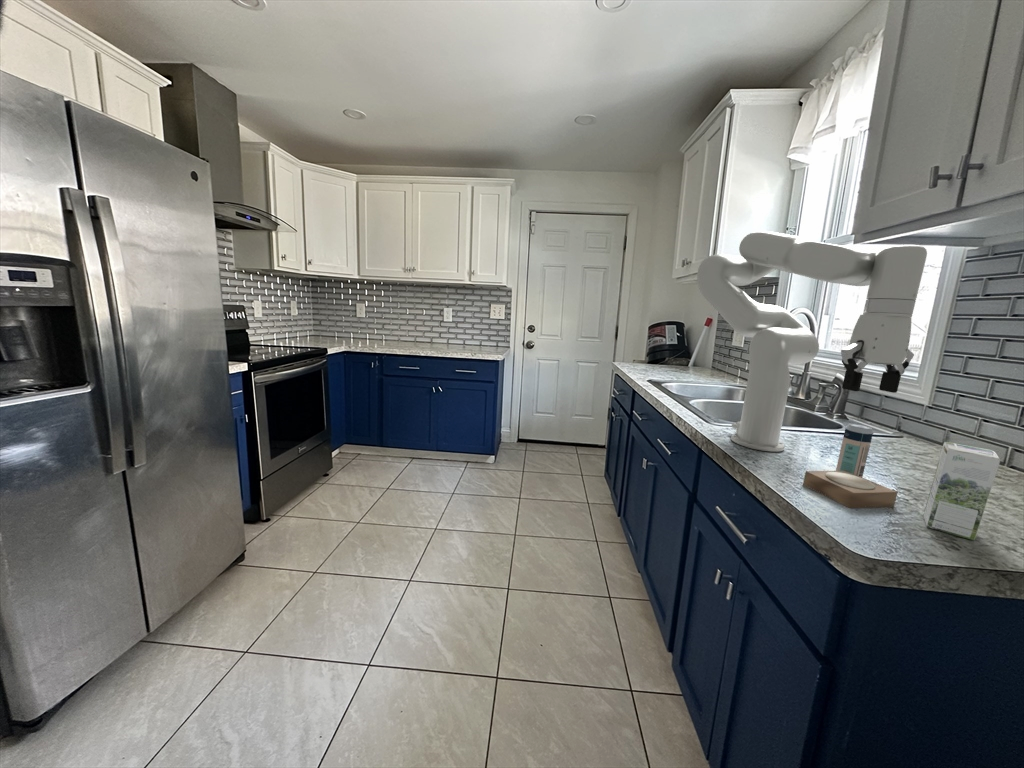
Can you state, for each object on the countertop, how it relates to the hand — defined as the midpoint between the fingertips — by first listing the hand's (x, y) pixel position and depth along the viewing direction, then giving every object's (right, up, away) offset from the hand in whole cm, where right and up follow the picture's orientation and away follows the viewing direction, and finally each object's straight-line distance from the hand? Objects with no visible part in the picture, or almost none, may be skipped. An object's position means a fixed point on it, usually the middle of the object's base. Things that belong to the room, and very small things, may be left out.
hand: (869, 390), depth 86 cm
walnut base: (-10, -21, -6) cm, 24 cm away
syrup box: (-2, -24, -17) cm, 29 cm away
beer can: (-1, -20, +4) cm, 20 cm away
